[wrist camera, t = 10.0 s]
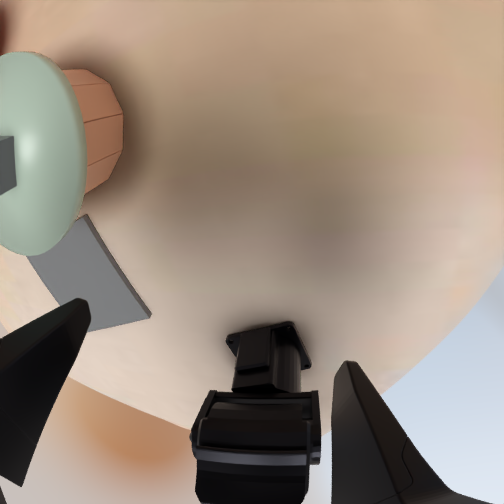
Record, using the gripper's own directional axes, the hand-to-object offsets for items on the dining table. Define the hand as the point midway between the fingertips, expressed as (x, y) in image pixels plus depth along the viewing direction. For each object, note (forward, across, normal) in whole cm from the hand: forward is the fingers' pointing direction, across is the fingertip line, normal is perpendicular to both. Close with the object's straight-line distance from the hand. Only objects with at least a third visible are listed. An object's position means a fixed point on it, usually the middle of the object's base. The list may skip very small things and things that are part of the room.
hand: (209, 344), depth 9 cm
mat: (+12, +15, +11) cm, 22 cm away
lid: (+6, +15, -3) cm, 16 cm away
